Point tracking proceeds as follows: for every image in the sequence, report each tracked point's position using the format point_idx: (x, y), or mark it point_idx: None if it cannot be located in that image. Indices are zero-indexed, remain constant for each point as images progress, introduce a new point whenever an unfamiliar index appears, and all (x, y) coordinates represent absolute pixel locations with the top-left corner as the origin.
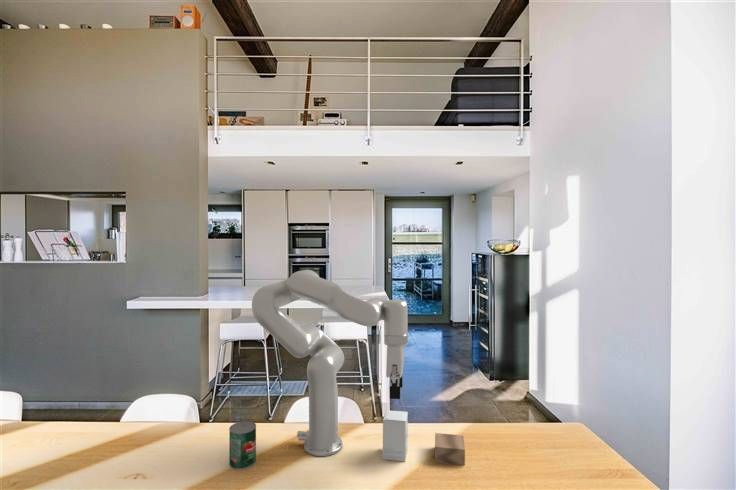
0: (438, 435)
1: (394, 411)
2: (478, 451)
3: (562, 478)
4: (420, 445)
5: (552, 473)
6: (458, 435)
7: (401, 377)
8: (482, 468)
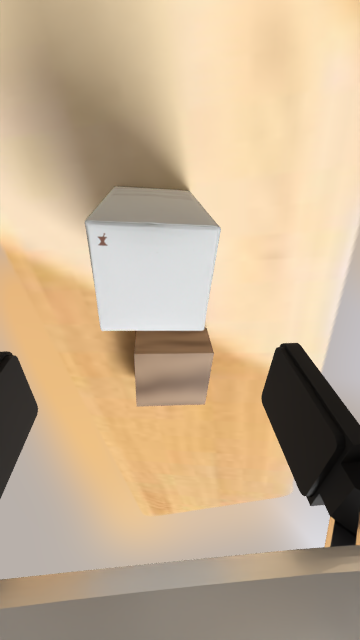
0: (199, 360)
1: (201, 274)
2: None
3: (133, 473)
4: (213, 295)
5: (143, 467)
6: (203, 396)
7: (296, 482)
8: (134, 402)
